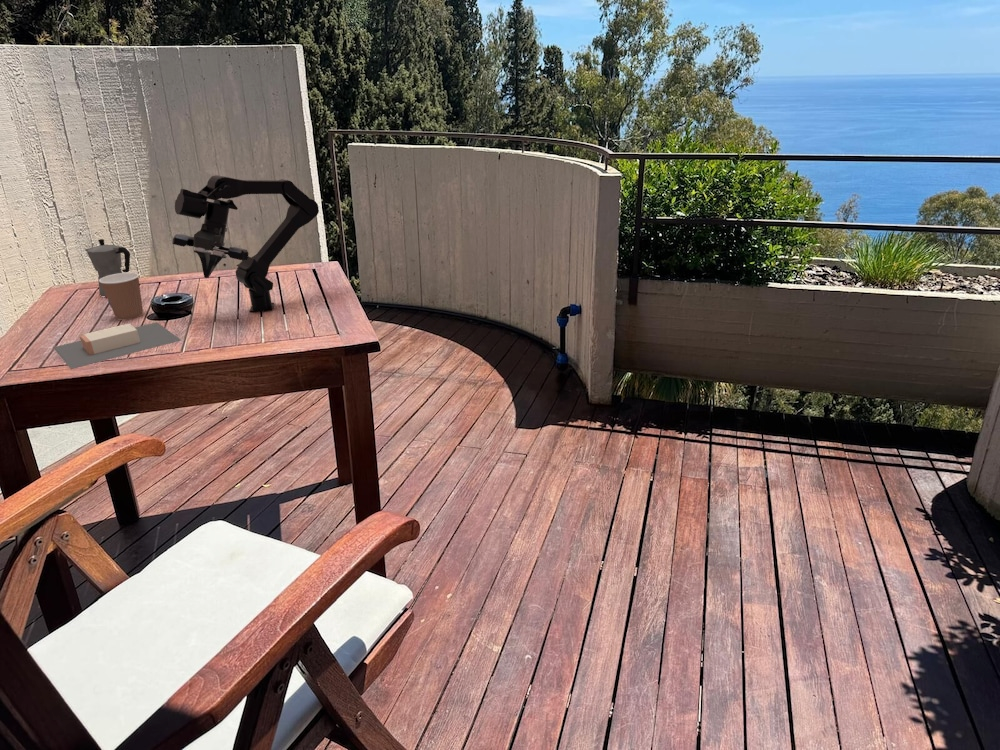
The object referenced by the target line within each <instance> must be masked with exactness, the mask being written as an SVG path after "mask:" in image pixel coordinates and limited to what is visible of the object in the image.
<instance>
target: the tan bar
mask: <svg viewBox="0 0 1000 750" xmlns="http://www.w3.org/2000/svg"><path fill="white" fill-rule="evenodd" d="M78 336H79V338H80V341H81V342H82V346H83V348H84V349H85V350H86V351H87V352H88V353H89V354H90V355H92V354H96V353H100V352H104V351H108V350H112V349H116V348H120V347H124V346H128V345H132V344H136V343H140V339H139V335H138V331H137V329H135V327H134V326H133V325H132V324H130V323H125V324H121V325H117V326H113V327H109V328H104V329H99V330H95V331H92V332H87V333H83V334H79V335H78Z"/></svg>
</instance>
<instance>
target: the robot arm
mask: <svg viewBox="0 0 1000 750" xmlns="http://www.w3.org/2000/svg"><path fill="white" fill-rule="evenodd" d="M246 195H281V196H282V197H283V199H284V201H285V202H286V203H287V204H288V205H289V206H288V208H287V211H286V215H285V218H284V220H283V221H282V222H281V223H280V225H279V226H278V227H277V228H276V229H275V231H274V232H273V233H272V234H271V236H270V237H269V238H268V239H267V241H266V242H265V243H264V245H263V246H261V248H260V249H259V250H258V252H257V253H256V254H255V255H252V256H249V251H248V249H245V248H241V247H236V246H230V247H225V243H226V242H225V238H226V237H225V235H226V233H227V231H228V228H227V225H228V224H227V223H228V219H229V213H230V209H231V210H235V211H237V210H238V206H237V205H236V204H235V203H234V200H233V199H234V198H239V197H241V196H246ZM221 199H224V200H221ZM209 200H212V201H209ZM319 211H320V210H319V205H318V203H317V201H315V200H314V199H312V198H310V197H309V196H308V195H307V194H306V193H305V192H303V191H302V190H301V189H300V188H298V187H297V186H296V185H295V184H294V183H293V182H292V181H291V180H287V179H283V178H281V179H273V180H272V179H240V178H233V177H229V176H223V175H219V174H217V175H212V176H211V177H210V178H209V179H208V180H207V184H206V185H205V186H203V187H202V188H201V189H200V190H199V191H198V192H196V191H195V192H194V191H190V190H189V189H185V188H180V191H179V193H178V194H177V196H176V199H175V200H174V212H175V214H176V215H180V216H185V217H190V218H194V219H201V218H202V217H204V221H203V223H202V224H201V227H200V230H198V231H197V232H196V233H194V234H193V236H192V235H191V236H190V235H187V234H182V233H181V234H178V233H177V234H175V235H174V236H173V239H172V242H171V244H172V245H175V246H180V247H186V246H188V247H194V248H195V249H194V250H193V253H195V254H197V255H198V258H199V260H200V263H201V267H202V272H203V278H205V279H209V278H210V276H211V275H212V273H213V272H214V270H215V269H216V267H217V265H218V264H219V263H220V262H221V261H222V259H227V256H228V257H229V258H230V259H235V260H239V261H240V263H238V264H236V267H237V268H236V269H235V278H236V280H237V281H238V282H239V283H240V284H243V286H244V288H246V289H248V294H249V299H250V304H251V306H250V309H249V313H259V312H269V311H274V307H275V302H272V297H271V291H272V290H273V288H274V282H273V281H271V280H270V279H268V278H266V277H267V275H268V273H269V271H270V265H271V264H272V263H273V261H274V260H275V259H276V258H277V257H278V255H279V254H280V253H281V251H283V249H284V248H285V246H287V244H288V243H289V241H290V240H291V239H292V237H294V235H295V234H296V233H297V231H298V230H299V229H300V228H302V227H304V226H305V225H307V224H309V223H311V221H313V220H314V219H315V218H316V217H317V216H318V215H319V213H320V212H319ZM226 255H227V256H226Z"/></svg>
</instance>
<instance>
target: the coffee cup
mask: <svg viewBox="0 0 1000 750" xmlns="http://www.w3.org/2000/svg"><path fill="white" fill-rule="evenodd" d="M139 277H140V275H139V273H136V272H122V273H118V274H112V275H108V276H105V277H103V278H101V279H100V280H99V281H98V283H99V282H100V283H101V284H102V287H103V289H104V291H105V294H106V297H107V298H106V299H107V302H108V304H109V307H110V308H111V309H112V312H113V315H114V316H115V318H116V320H118V321H123V320H131V319H135V318H139V317H141V316H143V315H142V314H144V313H143V312H144V311H143V310H144V309H143V308H144V307H143V302H142V295H141V287H140V279H139Z"/></svg>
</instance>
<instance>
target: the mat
mask: <svg viewBox="0 0 1000 750" xmlns="http://www.w3.org/2000/svg"><path fill="white" fill-rule="evenodd" d="M134 328H135V329H137V331H138V335H139V339H140V343H136V344H132V345H128V346H124V347H120V348H116V349H112V350H108V351H104V352H100V353H96V354H92V355H90V354H89V353H88V352H87V351H86V350H85V349H84V348H83V346H82V342H81V340H77V341H74V342H69V343H65V344H61V345H56V346H52V348H53V350H54V351H55V352H56V353H57V354H58V356H60V358H61V359H62V360H63V361H64V363H65V364H66V365H67V367H69V369H70V370H73V369H77V368H81V367H84V366H88V365H93V364H96V363H100V362H104V361H108V360H111V359H114V358H119V357H122V356H126V355H132V354H135V353H139V352H142V351H145V350H150V349H154V348H157V347H160V346H165V345H169V344H173V343H177V342H180V341H182V339H181V338H179V337H178V336H177V335H176V334H174V333H173V332H171V331H170V330H168V329H167V328H165V326H163V325H162V324H160V323H159V322H158V321H156V322H151V323H148V324H143V325H139V326H136V327H134Z"/></svg>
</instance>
